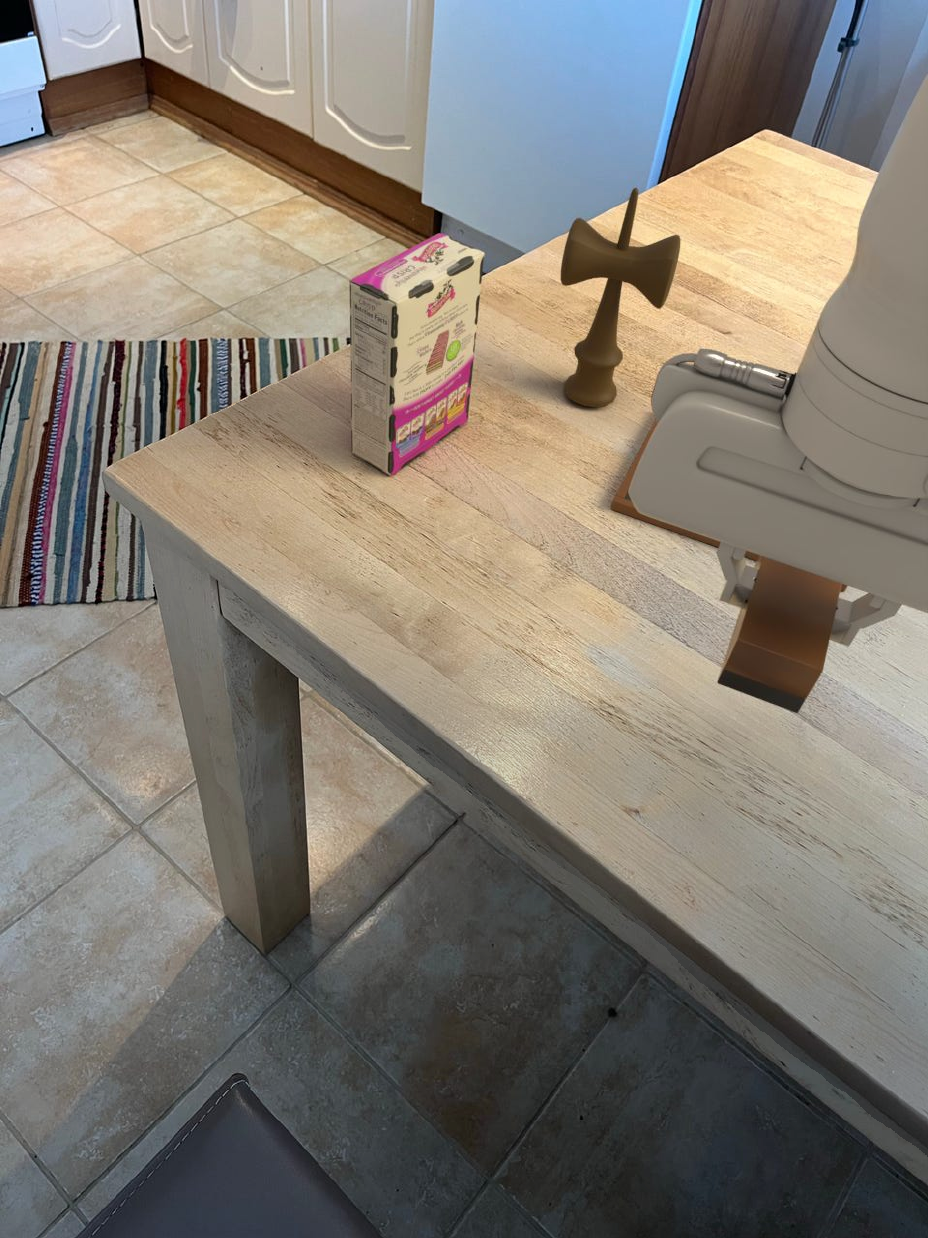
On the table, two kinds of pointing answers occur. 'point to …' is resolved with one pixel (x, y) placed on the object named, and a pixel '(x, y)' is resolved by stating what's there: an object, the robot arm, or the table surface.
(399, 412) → the candy bar box
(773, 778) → the table surface
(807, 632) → the eraser
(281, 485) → the table surface
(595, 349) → the kendama
